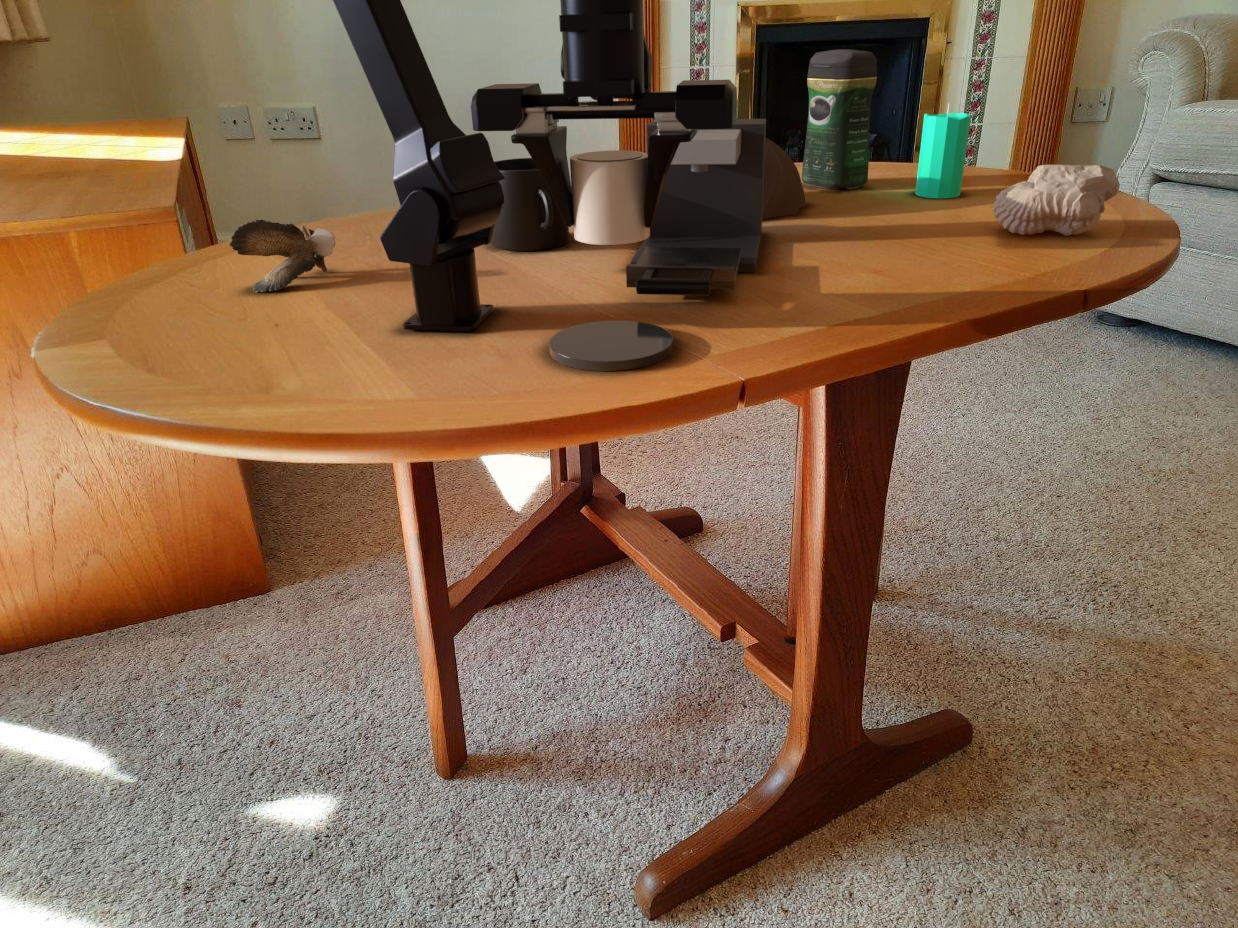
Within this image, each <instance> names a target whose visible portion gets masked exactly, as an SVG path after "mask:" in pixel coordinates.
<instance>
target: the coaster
mask: <svg viewBox="0 0 1238 928" xmlns="http://www.w3.org/2000/svg"><path fill="white" fill-rule="evenodd" d="M548 347H549V355H550V356H551V358H552V359H553V360H554V361H555V362H557V363H559V364H561V365H563V366H566V367H569V368H573V369H578V370H585V371H593V372H616V371H617V372H618V371H627V370H634V369H635V370H636V369H640V368H644V367H647V366H651V365H654V364H656V363H659V362H661V361H663V360H665V359H666V358H668V357H669V356H670V355H671V354H672V352H673V350H674V338H673V335H672V333H670V332H669V331H668V330H667V329H665V328H663V327H661V326H659V325H655V324H652V323H648V322H644V321H643V322H642V321H636V320H635V321H634V320H601V321H592V322H586V323H585V322H584V323H579V324H576V325H573V326H570V327H569V326H568V327H567V328H564V329H561V330H560V331H557V332H556V333H555V334H554V335H553V336H551V338H550V339H549V343H548Z"/></svg>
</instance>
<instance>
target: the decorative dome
mask: <svg viewBox="0 0 1238 928" xmlns="http://www.w3.org/2000/svg"><path fill="white" fill-rule="evenodd" d="M806 206H807V202H806V194H805V191H804V186H803V182H802V177H801V175H800V172H799V170H798V167H797V166H796V164H795V162H794V161H793V159H792V158H791V157H790V156H789V155H788V153H787V152H786V151H785V150H784V149H783V148H782V147H781V146H779V145H778V144H777V143H776V142H774V141H773V140H772V139H771V140H770V139H769V138H767V137H766V138H765V162H764V187H763V212H762V221H765V220H767V219H772V218H775V217H776V218H777V217H786V216H796V215H797V214H798V211H799V209H802V208H804V207H806Z"/></svg>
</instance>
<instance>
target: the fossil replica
mask: <svg viewBox="0 0 1238 928" xmlns="http://www.w3.org/2000/svg"><path fill="white" fill-rule="evenodd" d="M1120 186H1121V185H1120V181H1119V179H1118V177H1117V173H1116V171H1115V170H1114V169H1113V168H1110V167H1108V166H1104V165H1102V164H1093V165H1092V164H1091V165H1090V164H1089V165H1088V164H1087V165H1085V164H1084V165H1083V164H1082V165H1081V164H1053V163H1051V164H1041V165H1038V166H1036V168H1035V169H1034V170H1033V171H1032V173H1031V174H1030V175H1029V177H1028V179H1027V180H1024V181H1019V182H1018V183H1014V184H1013V185H1011V186H1009V187H1008V188H1007V187H1006V188H1004V190H1001V191H1000V192H999V193H998V194H996V196H995V200H994V207H993V209H992V211H993V212H994V218H996V219H997V223H998V224H1000V225H1002V227H1003V228H1004V230H1007V231H1008V232H1010V233H1011V234H1018V235H1021V236H1024V235H1029V236H1032V235H1035V234H1037V233H1038V234H1040V233H1041V234H1042V233H1045V231H1052V232H1056V233H1059V234H1062V235H1063V236H1066V237H1068V236H1072V235H1081V234H1084V233H1086V232H1088V231H1090V230H1092V229H1093V228H1094V227H1095V226H1096V225H1097V224H1098V223H1099V222H1100V219H1101V214H1103V213H1104V212H1105V210H1106V206H1105V202H1107V201H1109V200H1111V199H1113V198H1114V197H1115V196H1117V195H1118V192H1119V190H1120Z"/></svg>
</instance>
